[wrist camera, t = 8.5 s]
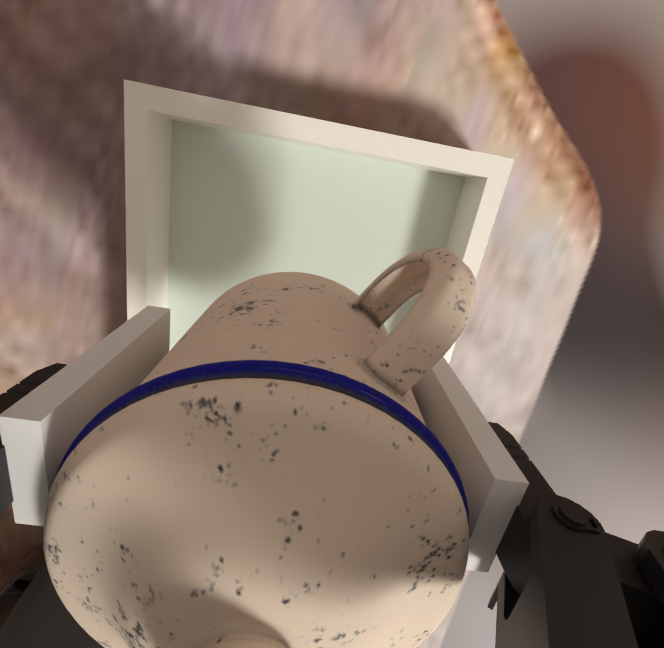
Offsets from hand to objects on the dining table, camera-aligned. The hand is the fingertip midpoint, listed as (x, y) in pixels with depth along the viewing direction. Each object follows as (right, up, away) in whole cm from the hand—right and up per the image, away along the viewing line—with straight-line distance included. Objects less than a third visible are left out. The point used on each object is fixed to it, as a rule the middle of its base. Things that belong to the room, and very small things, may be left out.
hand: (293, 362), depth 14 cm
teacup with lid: (+1, +1, +2) cm, 2 cm away
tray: (0, +4, +10) cm, 11 cm away
